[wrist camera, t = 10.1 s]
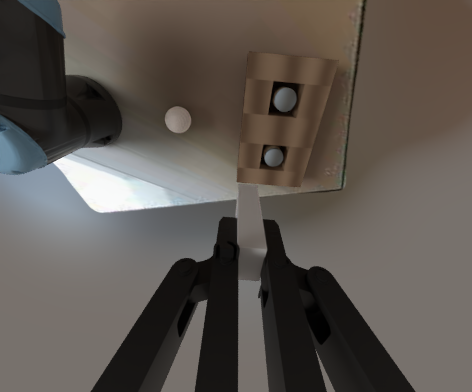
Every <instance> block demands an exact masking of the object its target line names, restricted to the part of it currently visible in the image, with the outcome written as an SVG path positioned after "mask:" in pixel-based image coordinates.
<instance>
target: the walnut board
mask: <svg viewBox="0 0 472 392" xmlns="http://www.w3.org/2000/svg"><path fill="white" fill-rule="evenodd" d="M338 63H339V60H329V59H319V58H309V57H299V56H289V55H279V54H269V53H259V52H249V53H248V60H247V71H246V82H245V92H244V103H243V114H242V125H241V135H240V146H239V157H238V168H237V182H241V183H253V184H265V185H278V186H290V187H301V184H302V180H303V177H304V174H305V171H306V167H307V164H308V161H309V158H310V154H311V151H312V148H313V145H314V141H315V138H316V135H317V132H318V128H319V125H320V122H321V119H322V115H323V112H324V109H325V106H326V102H327V99H328V96H329V92H330V89H331V86H332V83H333V79H334V76H335V73H336V70H337V66H338ZM273 81H279V82H289V83H297V85H296V90H295V93H296V97H297V100H296V103H295V105H294V107H293V108H292V109H291V112H290V113H287V112H276V111H269V105H270V99H271V93H272V86H273ZM263 144H266V145H277V146H283V149H282V154H283V161H282V162H281V163H280V164H279V165H278V166H274V167H272V166H269V165H267V164H266V162H265V160H261V155H262V149H263Z"/></svg>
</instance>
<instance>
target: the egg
mask: <svg viewBox="0 0 472 392" xmlns="http://www.w3.org/2000/svg"><path fill="white" fill-rule="evenodd" d="M165 123H166V125H167V127H168V128H169V129H170V130H171V131H172V132H175V133H183V132H185V131H187V130H188V129H189V127H190V125H191V116H190V114H189V112H188V111H187V110H186V109H184V108H182V107H178V106H175V107H172V108H170V109H169V110H168V111H167V113H166V115H165Z"/></svg>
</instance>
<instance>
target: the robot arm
mask: <svg viewBox="0 0 472 392" xmlns="http://www.w3.org/2000/svg"><path fill="white" fill-rule="evenodd" d="M63 38H64V39H65V38H66V36H65V33H64V32H63V24H62V14H61V8H60V5H59V3H58V1H57V0H0V173H3V174H10V175H18V174H24V173H27V172H30V171H32V170H35V169H39V168H42V167H45V166H46V165H48V164H50V163H52V162H54V161H56V160H58V159H60V158H62V157H64V156H66V155H68V154H70V153H72V152H74V151H76V150H78V149H80V148H94V147H103V146H106V145H108V144H110V143H112V142H113V141H115V140H116V139H117V138H118V136H119V134H120V132H121V128H122V119H121V114H120V111H119V109H118V106H117V104H116V103H115V101H114V100H113V98H112V97H111V95H110V94H109V93H108V92H107V91H106V90H105V89H104V88H103V87H102V86H100V85H99V84H98V83H96V82H95V81H93V80H91V79H89V78H86V77H83V76H79V75H65V57H64V39H63ZM260 276H261V286H260V291H259V294H258V298H260V296H261V307H262V319H263V330H264V341H265V351H266V364H267V375H268V386H269V392H327V391H326V387H325V383H324V380H323V376H322V372H321V369H320V365H319V361H318V357H317V354H316V351H317V353H318V355H319V358H320V360H321V362H322V364H323V366H324V368H325V371H326V373H327V375H328V377H329V379H330V381H331V383H332V386H333V388H334V390H335V392H415V390H414V389H413V388H412V386H411V385H410V383H409V382H408V381H407V379H406V378H405V376H404V375H403V374H402V372H401V371H400V370H399V368H398V367H397V365H396V364H395V362H394V361H393V360H392V358H391V357H390V355H389V354H388V353H387V351H386V350H385V348H384V347H383V345H382V344H381V343H380V341H379V340H378V339H377V337H376V336H375V334H374V333H373V332H372V330H371V329H370V327H369V326H368V324H367V323H366V322H365V320H364V319H363V317H362V316H361V315H360V313H359V312H358V310H357V309H356V308H355V306H354V305H353V303H352V302H351V300H350V299H349V298H348V297H347V295H346V293H345V292H344V291H343V289H342V288H341V286H340V285H339V284H338V282H337V281H336V279H335V278H334V277H333V275H332V274H331V273H330V272H329V271H327V270H326V269H324V268H322V267H319V266H314V267H311V268H310V269H309V270H306V269H303V268H301V267H298V266H296V265H294V264H293V263H291V261H290V259H289V258H288V257H287V256H286V253H285V249H284V245H283V241H282V237H281V234H280V229H279V226H278V224H277V223H276V222H275V220H265V219H262V213H261V206H260V200H259V193H258V187H257V185H244V184H239V186H238V196H237V205H236V218H233V217H223V218H222V219H221V220H220V221H219V227H218V234H217V242H216V244H215V246H214V252H213V256H212V257H211V258H209V259H207V260H205V261H201V262H196V261H195V260H193V259H191V258H184V259H180V260H179V261H177V262H175V264H174V265H173V266H172V267H171V269H170V271H169V272H168V274H167V275H166V277H165V278H164V280H163V281H162V283H161V284H160V286H159V287H158V289H157V290H156V292H155V294H154V295H153V297H152V298H151V300H150V301H149V303H148V304H147V306H146V307H145V309H144V310H143V312H142V314H141V315H140V317H139V318H138V320H137V321H136V323H135V324H134V326H133V327H132V329H131V330H130V332H129V334H128V335H127V337H126V338H125V340H124V341H123V343H122V344H121V346H120V348H119V349H118V350H117V352H116V354H115V355H114V357H113V358H112V360H111V361H110V363H109V364H108V366H107V367H106V369H105V371H104V372H103V374H102V375H101V377H100V378H99V380H98V381H97V383H96V384H95V386H94V387H93V389H92V391H91V392H160V391H161V389H162V387H163V384H164V382H165V380H166V378H167V375H168V373H169V370H170V368H171V366H172V363H173V361H174V359H175V356H176V354H177V352H178V349H179V347H180V344H181V342H182V340H183V338H184V335H185V333H186V331H187V328H188V326H189V324H190V321H191V319H192V317H193V314H194V312H195V310H196V307H197V305H198V302H200V301H204V300H207V299H208V300H207V307H206V315H205V322H204V329H203V336H202V343H201V350H200V357H199V365H198V372H197V379H196V386H195V392H238V280H252V281H259V280H260ZM315 349H316V350H315Z"/></svg>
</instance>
